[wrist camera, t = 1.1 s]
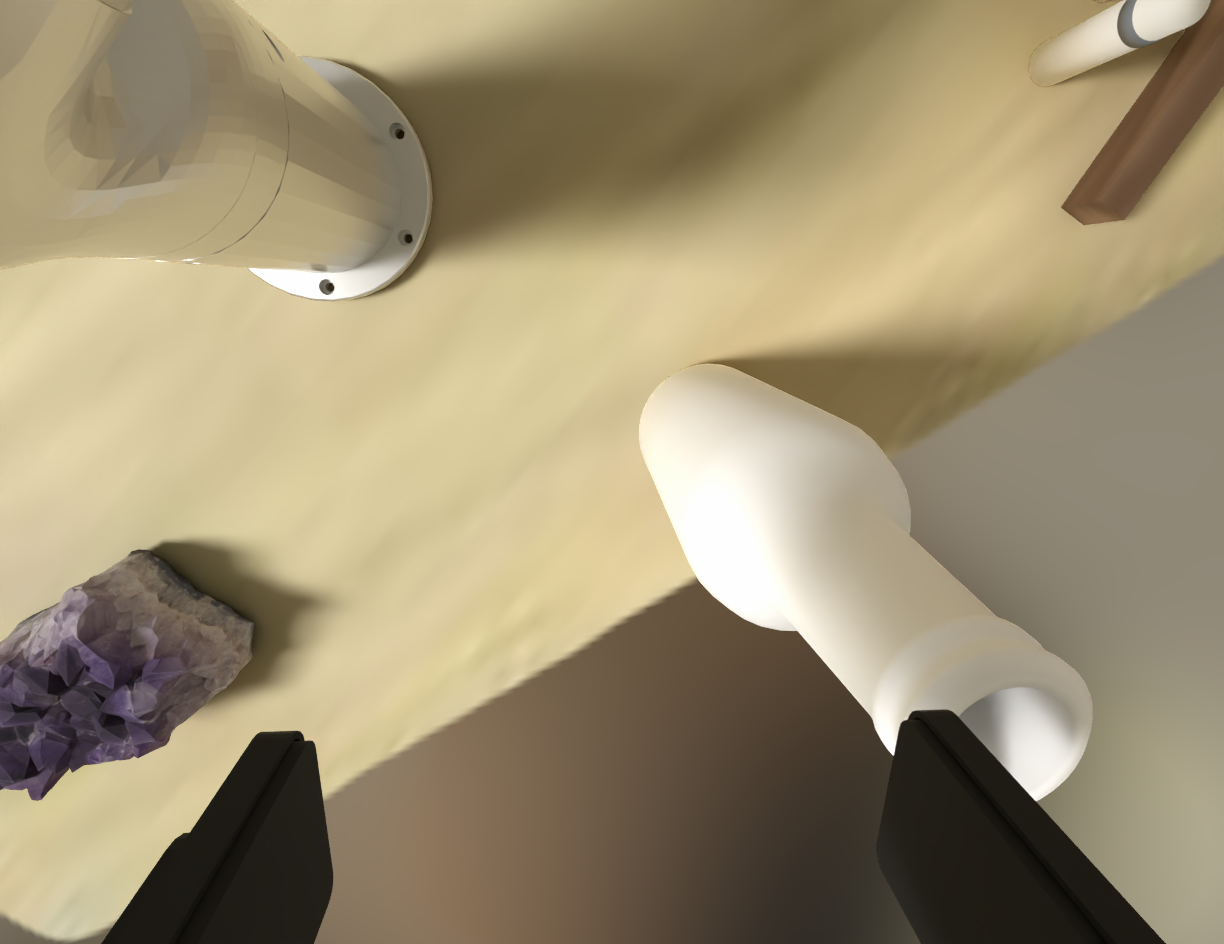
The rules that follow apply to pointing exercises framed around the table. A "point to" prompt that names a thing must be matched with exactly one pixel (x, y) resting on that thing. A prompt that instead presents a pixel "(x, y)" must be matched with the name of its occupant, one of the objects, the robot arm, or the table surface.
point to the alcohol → (849, 569)
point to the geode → (112, 671)
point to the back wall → (1154, 124)
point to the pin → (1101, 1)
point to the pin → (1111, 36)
